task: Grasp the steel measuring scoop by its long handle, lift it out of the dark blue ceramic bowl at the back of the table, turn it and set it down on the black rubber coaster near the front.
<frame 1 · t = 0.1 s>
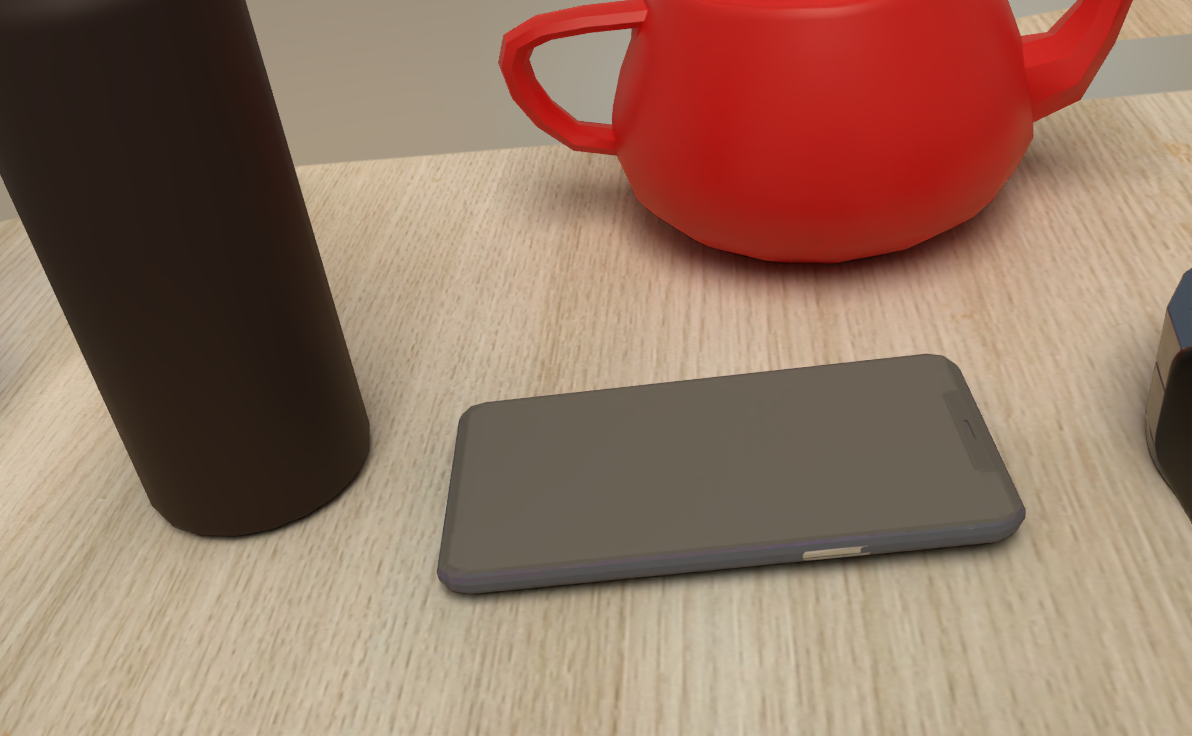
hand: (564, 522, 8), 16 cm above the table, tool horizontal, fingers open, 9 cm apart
teapot: (837, 200, 45), on the table
bottle: (266, 470, 35), on the table
smartphone: (716, 484, 32), on the table
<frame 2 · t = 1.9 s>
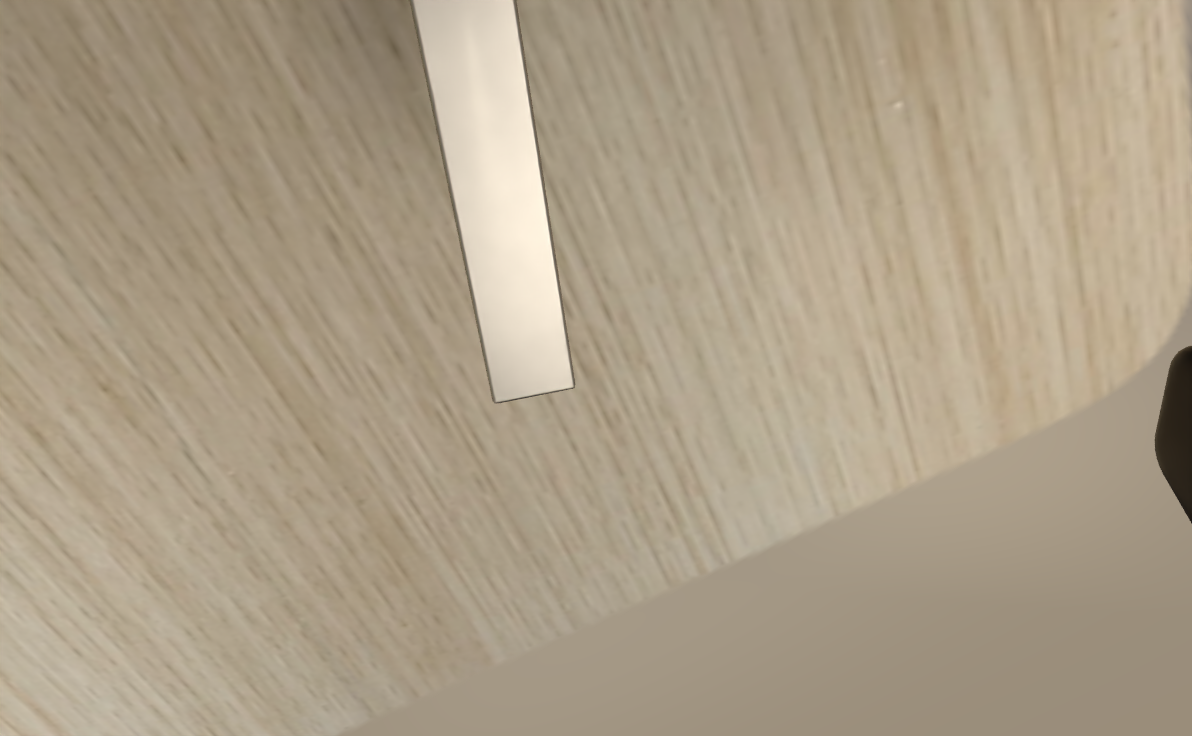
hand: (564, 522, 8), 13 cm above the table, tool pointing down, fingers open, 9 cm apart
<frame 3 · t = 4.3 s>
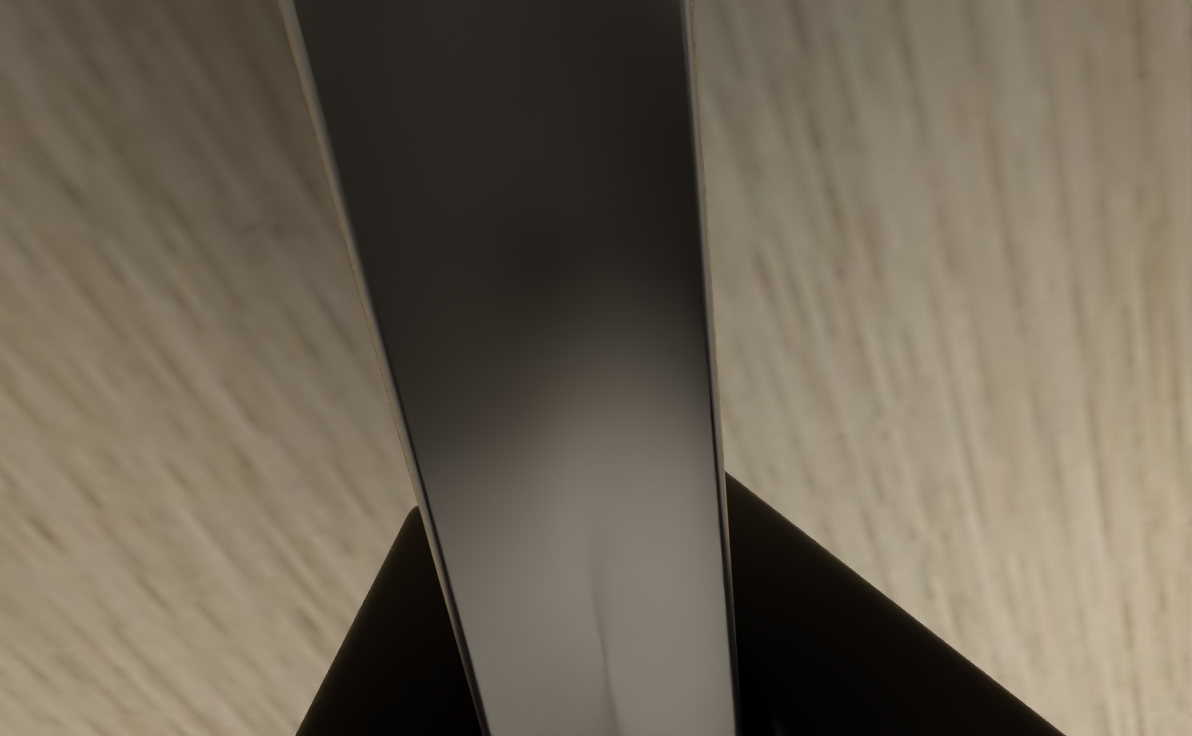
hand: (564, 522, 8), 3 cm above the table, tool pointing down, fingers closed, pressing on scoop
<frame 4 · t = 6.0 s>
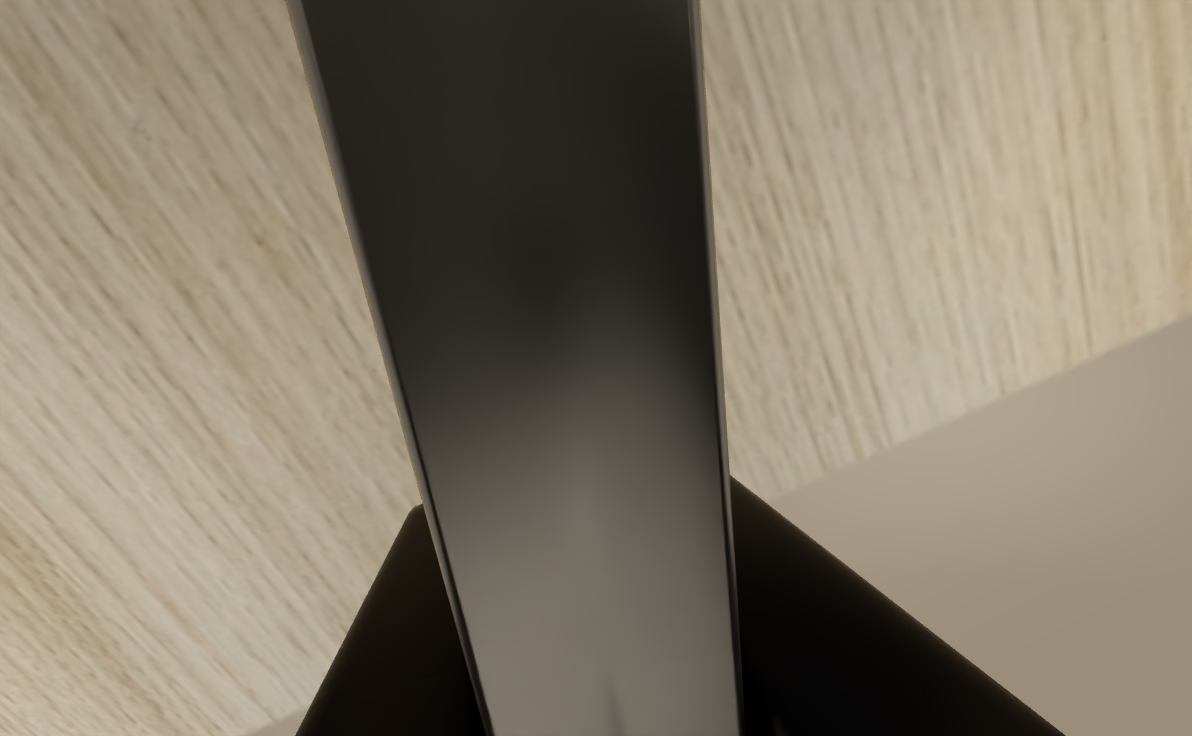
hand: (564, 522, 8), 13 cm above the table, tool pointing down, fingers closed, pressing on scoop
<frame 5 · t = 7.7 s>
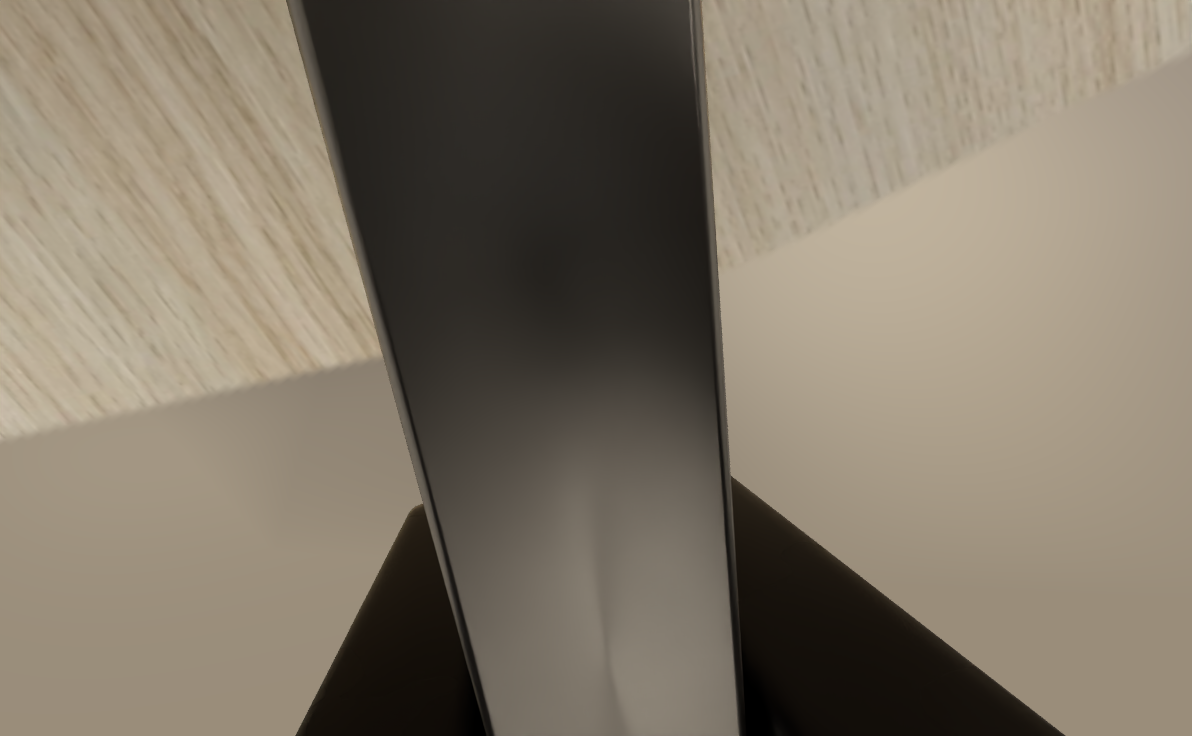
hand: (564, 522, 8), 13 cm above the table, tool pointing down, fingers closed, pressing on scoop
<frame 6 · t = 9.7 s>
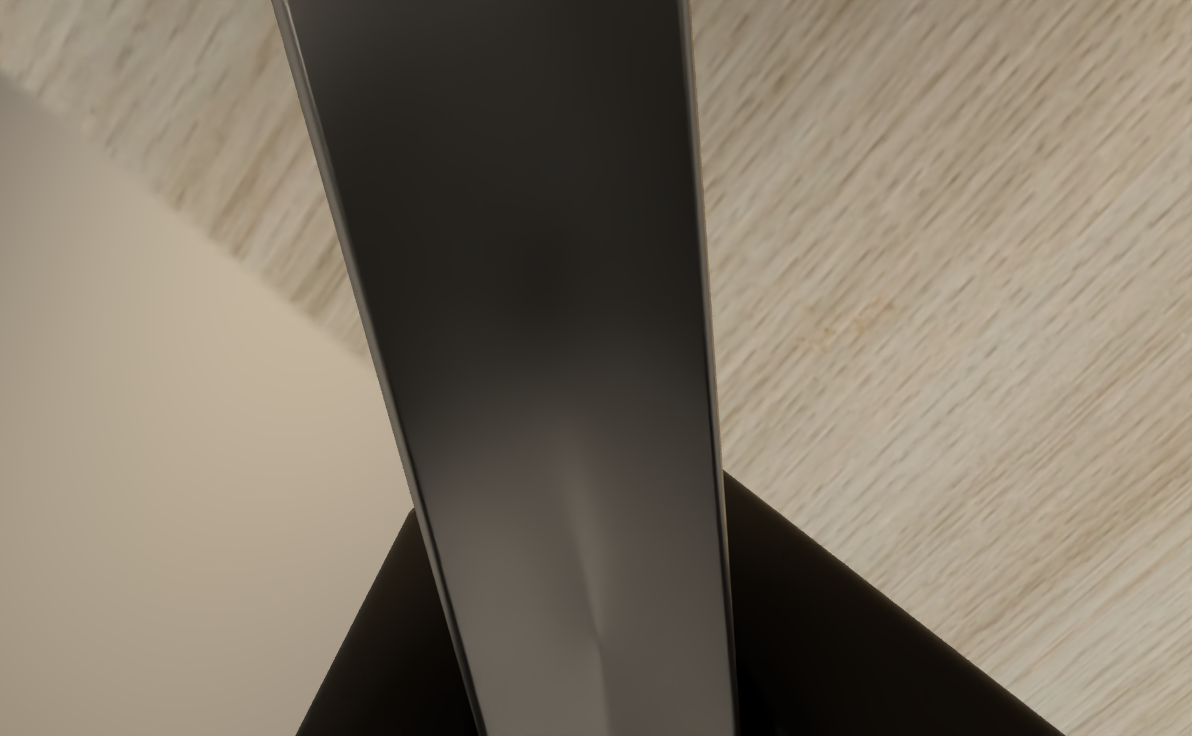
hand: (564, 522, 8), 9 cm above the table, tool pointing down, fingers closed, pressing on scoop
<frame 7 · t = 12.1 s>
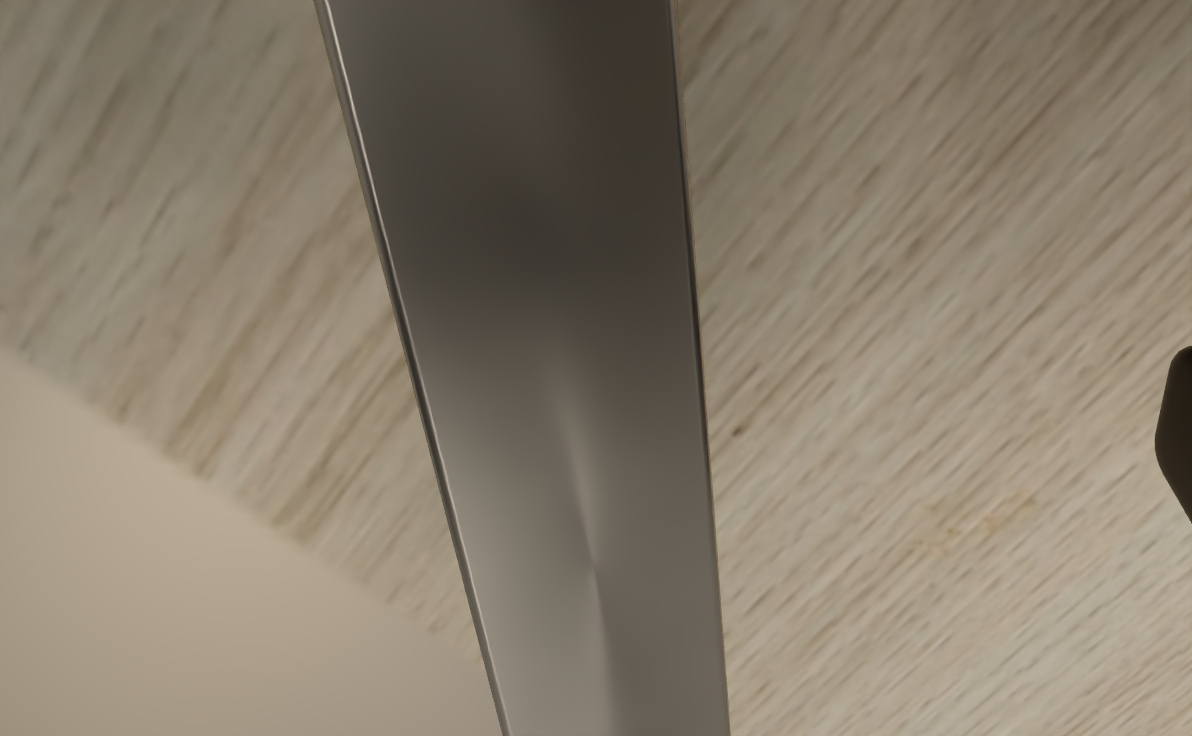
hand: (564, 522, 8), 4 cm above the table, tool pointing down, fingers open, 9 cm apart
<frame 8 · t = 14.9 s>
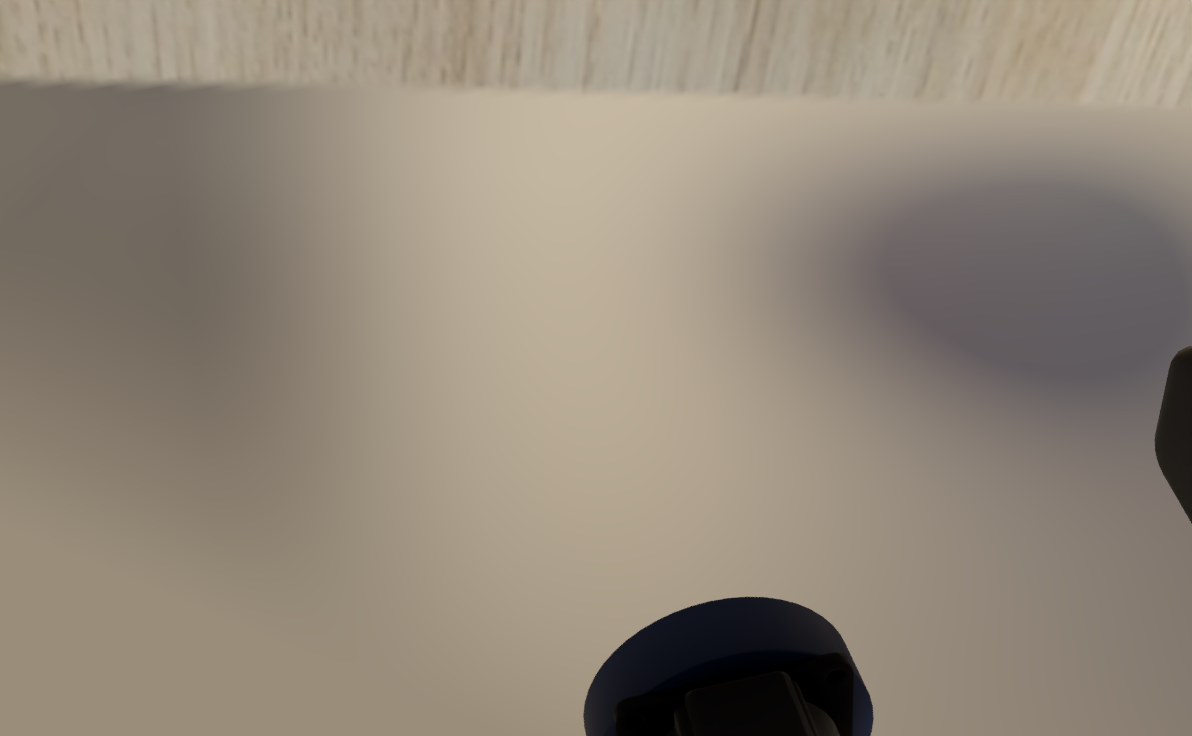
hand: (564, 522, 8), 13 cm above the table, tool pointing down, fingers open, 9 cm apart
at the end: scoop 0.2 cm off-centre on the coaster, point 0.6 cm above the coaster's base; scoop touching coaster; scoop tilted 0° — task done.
